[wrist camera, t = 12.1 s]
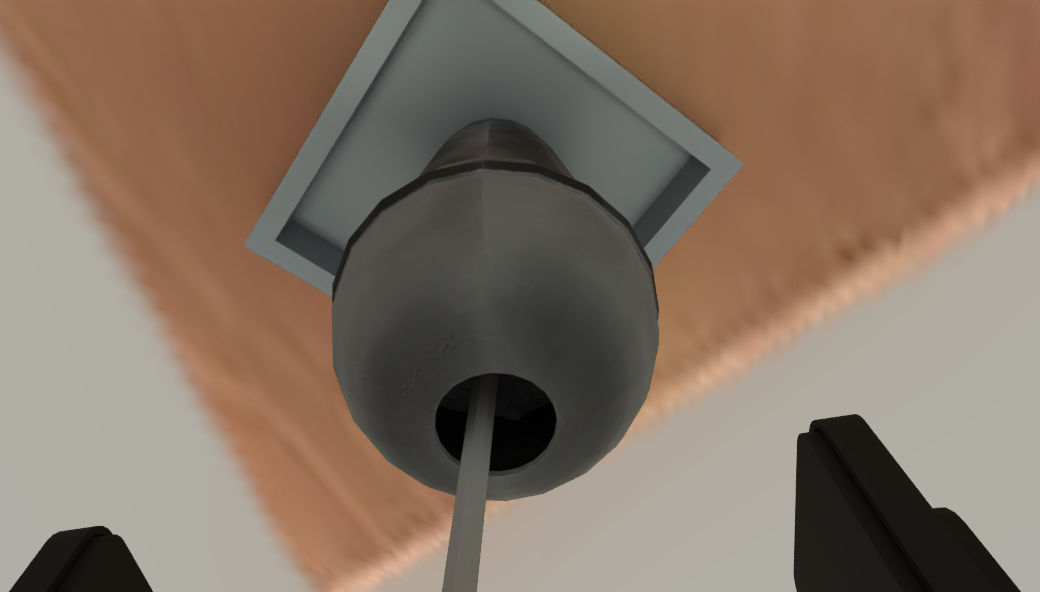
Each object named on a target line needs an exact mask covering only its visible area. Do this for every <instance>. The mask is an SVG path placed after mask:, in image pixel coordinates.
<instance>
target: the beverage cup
mask: <svg viewBox="0 0 1040 592" xmlns="http://www.w3.org/2000/svg"><path fill="white" fill-rule="evenodd" d="M332 301H333V306H332V332H333V368H334V370H335V373H336V376H337V379H338V382H339V384H340V387H341V390H342V392H343V395H344V397H345V400H346V402H347V405H348V407H349V410H350V412H351V415H352V418H353V420H354V421H355V423H356V424H357V425H358V427H359V428H360V429H361V430H362V432H363V433H364V434H365V435H366V436H367V437H368V439H369V440H370V441H371V442H372V443H373V444H374V446H375V447H376V448H377V449H378V450H379V452H380V453H381V454H382V455H383V456H384V457H385V459H386V460H387V461H388V462H389V463H391V464H392V465H394V466H395V467H397V468H399V469H400V470H402V471H403V472H405V473H406V474H408V475H409V476H411V477H413V478H414V479H416V480H417V481H419V482H420V483H422V484H424V485H426V486H428V487H430V488H433V489H436V490H439V491H443V492H446V493H449V494H452V495H455V496H456V499H455V506H454V513H453V519H452V526H451V533H450V540H449V547H448V554H447V561H446V568H445V575H444V583H443V588H442V592H477V583H478V573H479V563H480V553H481V542H482V533H483V523H484V513H485V503H486V500H494V501H508V500H514V499H519V498H524V497H529V496H534V495H539V494H544V493H546V492H548V491H550V490H552V489H554V488H556V487H558V486H560V485H562V484H565V483H567V482H569V481H571V480H573V479H575V478H577V477H579V476H581V475H583V474H585V473H586V472H588V471H589V470H590V469H591V468H592V467H593V466H594V465H595V464H597V463H598V462H599V461H600V460H601V459H602V458H603V457H605V456H606V455H607V454H608V453H609V452H610V451H611V450H612V449H614V448H615V447H616V446H617V445H618V443H619V442H620V441H621V439H622V438H623V437H624V435H625V434H626V432H627V430H628V429H629V427H630V425H631V424H632V422H633V420H634V419H635V417H636V415H637V414H638V412H639V410H640V409H641V407H642V405H643V404H644V402H645V400H646V397H647V394H648V391H649V388H650V384H651V379H652V375H653V370H654V365H655V360H656V355H657V350H658V345H659V327H658V321H657V320H658V313H659V307H658V300H657V294H656V287H655V281H654V274H653V268H652V263H651V261H650V259H649V257H648V255H647V253H646V252H645V250H644V248H643V246H642V244H641V243H640V241H639V239H638V237H637V235H636V234H635V232H634V230H633V228H632V226H631V224H630V223H629V221H628V220H627V219H626V218H625V217H624V216H623V215H622V214H621V213H619V212H618V211H617V210H616V209H615V208H614V207H613V206H612V205H610V204H609V203H608V202H607V201H606V200H605V199H604V198H603V197H601V196H600V195H599V194H598V193H597V192H596V191H595V190H594V189H592V188H591V187H590V186H589V185H587V184H584V183H582V182H579V181H577V180H575V179H574V177H573V176H572V175H571V173H570V172H569V171H568V169H567V168H566V167H565V165H564V164H563V163H562V161H561V160H560V159H559V157H558V156H557V155H556V154H555V152H554V151H553V150H552V148H551V147H550V146H549V145H548V144H547V143H546V142H544V141H543V140H542V139H541V138H540V137H539V136H538V135H537V134H535V133H534V132H533V131H532V130H531V129H530V128H528V127H526V126H524V125H521V124H519V123H517V122H514V121H512V120H506V119H495V118H489V119H485V120H481V121H477V122H472V123H470V124H469V125H467V126H465V127H464V128H462V129H461V130H459V131H457V132H456V133H455V134H454V135H453V136H451V137H450V138H448V140H447V141H446V142H445V143H444V144H443V146H442V147H441V148H440V149H439V150H438V152H437V153H436V154H435V155H434V157H433V158H432V159H431V160H430V162H429V163H428V164H427V166H426V167H425V168H424V170H423V171H422V172H421V174H420V175H419V176H418V177H417V178H416V179H415V180H413V181H411V182H410V183H408V184H406V185H405V186H403V187H401V188H400V189H398V190H397V191H395V192H393V193H392V194H390V195H388V196H387V197H385V198H383V199H382V200H380V202H379V203H378V204H377V205H376V207H375V208H374V209H373V210H372V211H371V213H370V214H369V215H368V216H367V217H366V219H365V220H364V221H363V222H362V223H361V225H360V226H359V227H358V228H357V229H356V231H355V232H354V233H353V234H352V236H351V237H350V238H349V239H348V242H347V244H346V247H345V250H344V253H343V256H342V259H341V262H340V264H339V267H338V270H337V273H336V276H335V279H334V281H333V284H332Z"/></svg>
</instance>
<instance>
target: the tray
mask: <svg viewBox="0 0 1040 592" xmlns="http://www.w3.org/2000/svg"><path fill="white" fill-rule="evenodd" d="M489 118H495V119H506V120H512V121H514V122H517V123H519V124H521V125H524V126H526V127H528V128H530V129H531V130H532V131H533V132H534V133H535V134H537V135H538V136H539V137H540V138H541V139H542V140H543V141H544V142H546V143H547V144H548V145H549V146H550V147H551V148H552V150H553V151H554V152H555V154H556V155H557V156H558V157H559V159H560V160H561V161H562V163H563V164H564V165H565V167H566V168H567V169H568V171H569V172H570V173H571V175H572V176H573V177H574V179H575V180H577V181H579V182H582V183H584V184H587V185H589V186H590V187H591V188H592V189H594V190H595V191H596V192H597V193H598V194H599V195H600V196H601V197H603V198H604V199H605V200H606V201H607V202H608V203H609V204H610V205H612V206H613V207H614V208H615V209H616V210H617V211H618V212H619V213H621V214H622V215H623V216H624V217H625V218H626V219H627V220H628V221H629V223H630V224H631V226H632V228H633V230H634V232H635V234H636V235H637V237H638V239H639V241H640V243H641V244H642V246H643V248H644V250H645V252H646V253H647V255H648V257H649V259H650V261H651V263H652V268H653V269H654V267H655V266H656V265H657V264H658V263H659V262H660V260H661V259H662V258H663V257H664V256H665V255H666V254H667V252H668V251H669V250H670V249H671V248H672V247H673V246H674V244H675V243H676V242H677V241H678V240H679V239H680V237H681V236H682V235H683V234H684V233H685V232H686V231H687V229H688V228H689V227H690V226H691V225H692V224H693V222H694V221H695V220H696V219H697V218H698V217H699V216H700V214H701V213H702V212H703V211H704V210H705V209H706V208H707V206H708V205H709V204H710V203H711V202H712V201H713V199H714V198H715V197H716V196H717V195H718V194H719V193H720V191H721V190H722V189H723V188H724V187H725V186H726V184H727V183H728V182H729V181H730V180H731V179H732V178H733V176H734V175H735V174H736V173H737V172H738V171H739V170H740V168H741V167H742V166H743V165H744V163H743V162H742V161H740V160H739V159H738V158H737V157H736V156H735V155H733V154H732V153H731V152H730V151H729V150H727V149H726V148H725V147H724V146H723V145H722V144H720V143H719V142H718V141H717V140H715V139H714V138H713V137H712V136H710V135H709V134H708V133H707V132H705V131H704V130H703V129H702V128H700V127H699V126H698V125H696V124H695V123H694V122H693V121H691V120H690V119H689V118H688V117H686V116H685V115H684V114H683V113H681V112H680V111H679V110H677V109H676V108H675V107H674V106H672V105H671V104H670V103H669V102H667V101H666V100H665V99H664V98H662V97H661V96H660V95H658V94H657V93H656V92H655V91H653V90H652V89H651V88H650V87H648V86H647V85H646V84H645V83H643V82H642V81H641V80H639V79H638V78H637V77H636V76H634V75H633V74H632V73H631V72H629V71H628V70H627V69H626V68H624V67H623V66H622V65H620V64H619V63H618V62H617V61H615V60H614V59H613V58H612V57H610V56H609V55H608V54H607V53H605V52H604V51H603V50H601V49H600V48H599V47H598V46H596V45H595V44H594V43H593V42H591V41H590V40H589V39H588V38H586V37H585V36H584V35H582V34H581V33H580V32H579V31H577V30H576V29H575V28H574V27H572V26H571V25H570V24H569V23H567V22H566V21H565V20H563V19H562V18H561V17H560V16H558V15H557V14H556V13H555V12H553V11H552V10H551V9H549V8H548V7H547V6H546V5H544V4H543V3H542V2H541V1H539V0H389V1H388V3H387V5H386V6H385V8H384V10H383V11H382V13H381V15H380V17H379V18H378V20H377V22H376V23H375V25H374V27H373V28H372V30H371V32H370V33H369V35H368V37H367V38H366V40H365V42H364V43H363V45H362V47H361V49H360V50H359V52H358V54H357V55H356V57H355V59H354V60H353V62H352V64H351V65H350V67H349V69H348V70H347V72H346V74H345V75H344V77H343V79H342V81H341V82H340V84H339V86H338V87H337V89H336V91H335V92H334V94H333V96H332V97H331V99H330V101H329V102H328V104H327V106H326V107H325V109H324V111H323V113H322V114H321V116H320V118H319V119H318V121H317V123H316V124H315V126H314V128H313V129H312V131H311V133H310V134H309V136H308V138H307V140H306V141H305V143H304V145H303V146H302V148H301V150H300V151H299V153H298V155H297V156H296V158H295V160H294V161H293V163H292V165H291V166H290V168H289V170H288V172H287V173H286V175H285V177H284V178H283V180H282V182H281V183H280V185H279V187H278V188H277V190H276V192H275V193H274V195H273V197H272V198H271V200H270V202H269V204H268V205H267V207H266V209H265V210H264V212H263V214H262V215H261V217H260V219H259V220H258V222H257V224H256V225H255V227H254V229H253V230H252V232H251V234H250V236H249V237H248V239H247V241H246V242H245V244H244V246H245V247H247V248H248V249H250V250H252V251H253V252H255V253H257V254H259V255H260V256H262V257H264V258H265V259H267V260H269V261H271V262H272V263H274V264H276V265H277V266H279V267H281V268H283V269H284V270H286V271H288V272H289V273H291V274H293V275H295V276H296V277H298V278H300V279H301V280H303V281H305V282H307V283H308V284H310V285H312V286H313V287H315V288H317V289H319V290H320V291H322V292H324V293H325V294H327V295H329V296H331V297H332V284H333V281H334V279H335V276H336V273H337V270H338V267H339V264H340V262H341V259H342V256H343V253H344V250H345V247H346V244H347V242H348V239H349V238H350V237H351V236H352V234H353V233H354V232H355V231H356V229H357V228H358V227H359V226H360V225H361V223H362V222H363V221H364V220H365V219H366V217H367V216H368V215H369V214H370V213H371V211H372V210H373V209H374V208H375V207H376V205H377V204H378V203H379V202H380V200H382V199H383V198H385V197H387V196H388V195H390V194H392V193H393V192H395V191H397V190H398V189H400V188H401V187H403V186H405V185H406V184H408V183H410V182H411V181H413V180H415V179H416V178H417V177H418V176H419V175H420V174H421V172H422V171H423V170H424V168H425V167H426V166H427V164H428V163H429V162H430V160H431V159H432V158H433V157H434V155H435V154H436V153H437V152H438V150H439V149H440V148H441V147H442V146H443V144H444V143H445V142H446V141H447V140H448V138H450V137H451V136H453V135H454V134H455V133H456V132H457V131H459V130H461V129H462V128H464V127H465V126H467V125H469V124H470V123H472V122H477V121H481V120H485V119H489Z"/></svg>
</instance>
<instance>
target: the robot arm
mask: <svg viewBox="0 0 1040 592" xmlns="http://www.w3.org/2000/svg"><path fill="white" fill-rule="evenodd" d="M795 506H796V507H795V543H794V544H795V545H794V580H795V586H796V589H797V592H1021V591H1020V590H1019V589H1018V588H1017V586H1016V585H1015V584H1014V583H1013V581H1012V580H1011V579H1010V578H1009V576H1008V575H1007V574H1006V573H1005V571H1004V570H1003V569H1002V568H1001V567H1000V565H999V564H998V563H997V562H996V560H995V559H994V558H993V557H992V555H991V554H990V553H989V552H988V550H987V549H986V548H985V547H984V546H983V544H982V543H981V542H980V541H979V539H978V538H977V537H976V536H975V534H974V533H973V532H972V531H971V529H970V528H969V527H968V526H967V524H966V523H965V522H964V521H963V520H962V519H961V518H960V517H959V516H958V515H957V514H956V513H955V512H953V511H951V510H949V509H948V508H932V507H931V506H930V504H929V503H928V502H927V501H926V499H925V498H924V497H923V495H922V494H921V493H920V491H919V490H918V489H917V488H916V486H915V485H914V484H913V482H912V481H911V480H910V479H909V477H908V476H907V475H906V473H905V472H904V471H903V469H902V468H901V467H900V466H899V464H898V463H897V462H896V461H895V459H894V458H893V456H892V455H891V454H890V453H889V451H888V450H887V449H886V447H885V446H884V445H883V444H882V442H881V441H880V440H879V439H878V437H877V436H876V434H875V433H874V432H873V431H872V429H871V428H870V427H869V426H868V424H867V423H866V421H865V420H864V419H863V418H862V417H861V416H859V415H857V414H853V415H847V416H840V417H833V418H826V419H819V420H814V421H812V422H811V424H810V429H809V432H808V433H802V434H799V436H798V439H797V466H796V505H795ZM9 592H153V591H152V589H151V587H150V585H149V584H148V582H147V580H146V579H145V577H144V575H143V573H142V572H141V570H140V568H139V566H138V565H137V563H136V561H135V559H134V558H133V556H132V554H131V552H130V551H129V549H128V547H127V545H126V544H125V542H124V540H123V539H122V538H121V537H120V536H118V535H113V534H112V533H111V531H110V530H109V529H108V528H106V527H104V526H94V527H88V528H81V529H74V530H67V531H60V532H58V533H56V534H54V535H52V536H51V537H50V538H49V539H48V540H47V541H46V543H45V544H44V545H43V547H42V548H41V550H40V551H39V552H38V554H37V555H36V556H35V558H34V559H33V561H32V562H31V563H30V564H29V566H28V567H27V568H26V570H25V571H24V572H23V574H22V575H21V576H20V578H19V579H18V580H17V582H16V583H15V584H14V586H13V587H12V589H11V590H10V591H9Z"/></svg>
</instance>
